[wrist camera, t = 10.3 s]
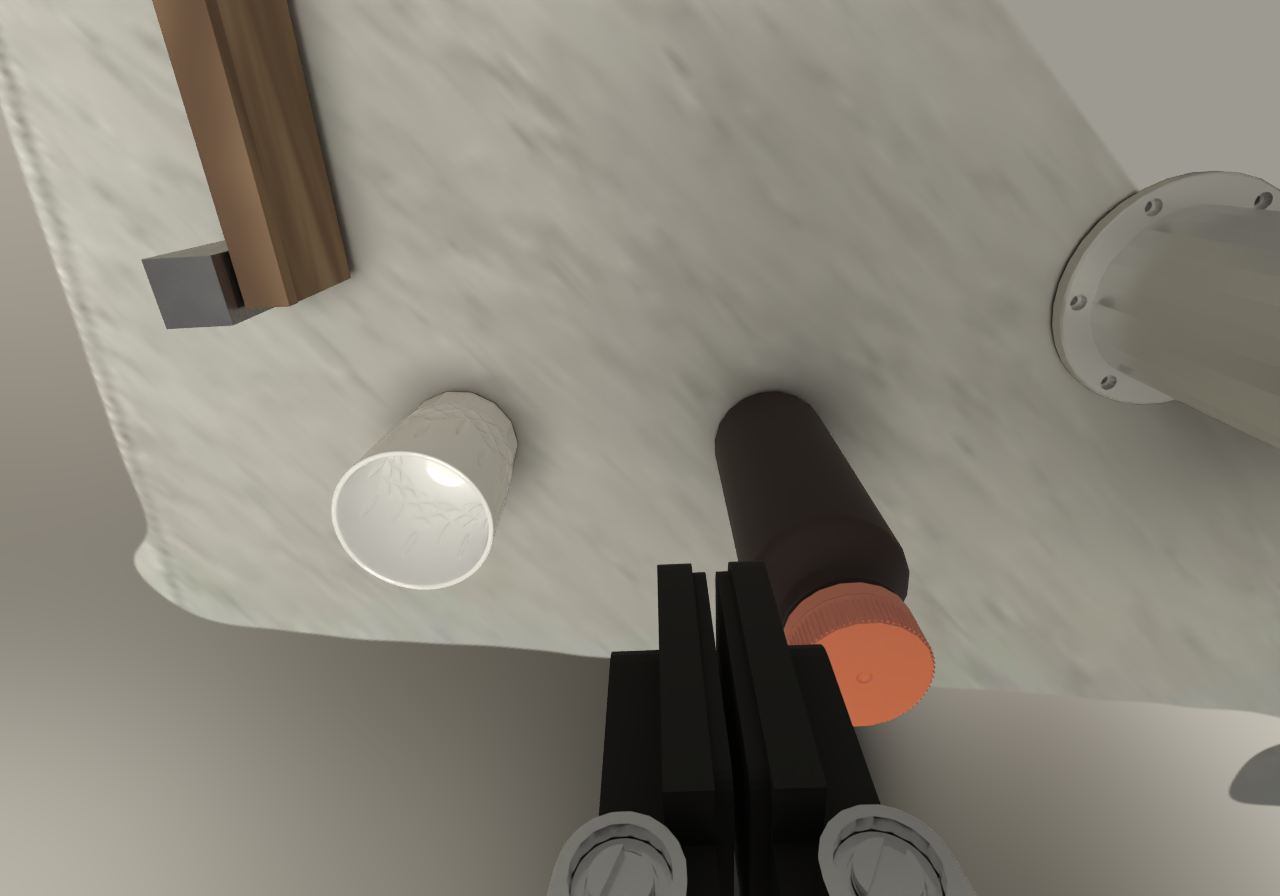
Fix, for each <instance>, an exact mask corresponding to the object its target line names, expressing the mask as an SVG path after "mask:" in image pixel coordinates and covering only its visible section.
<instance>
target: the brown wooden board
mask: <svg viewBox="0 0 1280 896" xmlns="http://www.w3.org/2000/svg"><path fill="white" fill-rule="evenodd" d="M152 1H153V5H154V8H155V11H156V14H157V18H158V21H159V24H160V28H161V31H162V34H163V37H164V41H165V44H166V47H167V51H168V54H169V57H170V60H171V64H172V67H173V70H174V74H175V77H176V80H177V83H178V87H179V90H180V93H181V97H182V100H183V103H184V106H185V110H186V113H187V116H188V120H189V123H190V126H191V129H192V133H193V136H194V139H195V142H196V146H197V149H198V152H199V156H200V159H201V162H202V165H203V169H204V172H205V175H206V179H207V182H208V185H209V188H210V192H211V195H212V198H213V202H214V205H215V208H216V211H217V215H218V218H219V221H220V225H221V228H222V231H223V234H224V238H225V241H226V244H227V248H228V251H229V254H230V257H231V261H232V264H233V267H234V271H235V274H236V277H237V280H238V284H239V287H240V290H241V294H242V297H243V300H244V303H245V307H246V309H247V308H268V307H288V306H292V305H294V304H296V303H298V301H301V300H303V299H305V298H307V297H310V296H312V295H314V294H316V293H318V292H321V291H323V290H325V289H327V288H329V287H332V286H334V285H336V284H338V283H341V282H343V281H345V280H347V279H349V278H351V276H350V271H349V267H348V263H347V258H346V254H345V250H344V245H343V241H342V237H341V233H340V228H339V224H338V220H337V215H336V211H335V207H334V202H333V198H332V194H331V189H330V185H329V181H328V177H327V172H326V168H325V164H324V159H323V155H322V151H321V146H320V142H319V138H318V134H317V129H316V125H315V121H314V116H313V112H312V108H311V103H310V99H309V95H308V91H307V86H306V82H305V78H304V73H303V69H302V65H301V60H300V56H299V52H298V48H297V43H296V39H295V35H294V30H293V26H292V22H291V17H290V13H289V9H288V4H287V0H152Z"/></svg>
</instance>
